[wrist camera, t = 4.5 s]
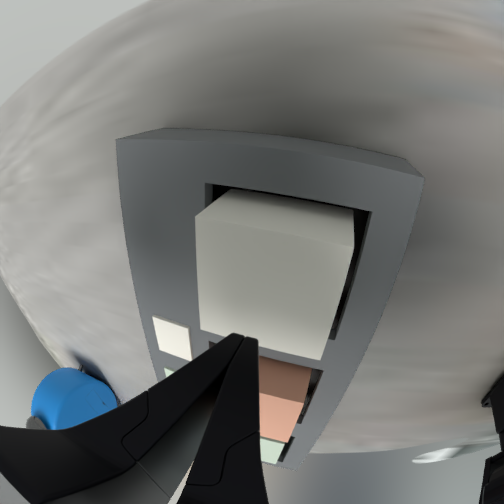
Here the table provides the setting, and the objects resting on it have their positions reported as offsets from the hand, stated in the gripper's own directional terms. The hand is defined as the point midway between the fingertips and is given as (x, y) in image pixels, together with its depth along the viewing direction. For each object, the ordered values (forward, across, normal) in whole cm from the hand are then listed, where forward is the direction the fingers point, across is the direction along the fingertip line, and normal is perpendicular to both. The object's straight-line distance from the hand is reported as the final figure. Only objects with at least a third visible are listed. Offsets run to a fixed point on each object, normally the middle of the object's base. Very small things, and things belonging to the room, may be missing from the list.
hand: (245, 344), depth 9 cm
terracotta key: (+6, 0, +9) cm, 11 cm away
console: (+8, +2, +9) cm, 12 cm away
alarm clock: (+9, +24, +29) cm, 39 cm away
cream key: (+6, 0, 0) cm, 6 cm away
